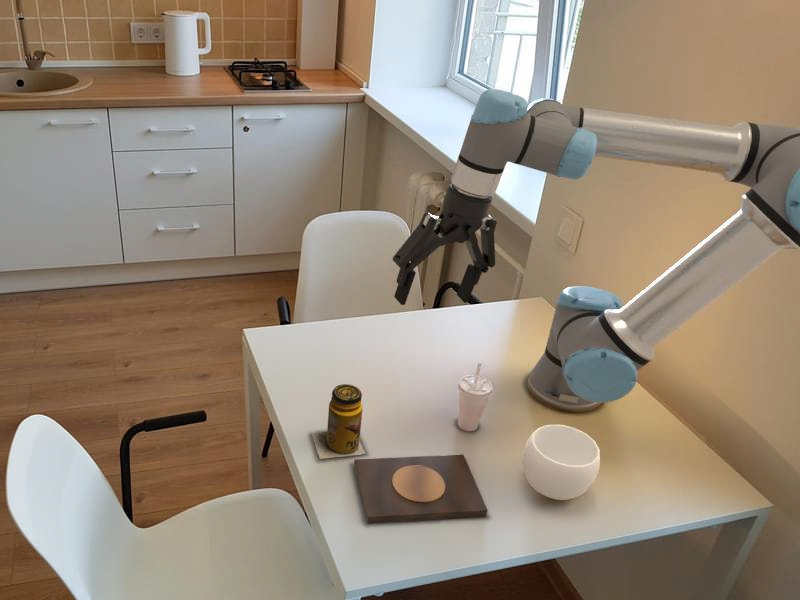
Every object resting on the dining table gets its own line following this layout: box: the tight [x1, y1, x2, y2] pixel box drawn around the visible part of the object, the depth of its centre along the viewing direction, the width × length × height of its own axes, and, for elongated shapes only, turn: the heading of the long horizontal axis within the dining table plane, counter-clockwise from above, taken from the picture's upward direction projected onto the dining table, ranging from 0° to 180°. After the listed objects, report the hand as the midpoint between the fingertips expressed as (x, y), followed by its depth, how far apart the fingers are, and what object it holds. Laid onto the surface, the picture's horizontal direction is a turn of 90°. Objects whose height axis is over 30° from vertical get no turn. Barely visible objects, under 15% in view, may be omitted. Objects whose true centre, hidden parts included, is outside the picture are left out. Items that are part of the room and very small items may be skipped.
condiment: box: [311, 383, 366, 460], centre depth 130 cm, size 7×8×12 cm
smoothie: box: [457, 362, 494, 432], centre depth 136 cm, size 6×6×14 cm
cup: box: [522, 424, 601, 501], centre depth 124 cm, size 12×12×10 cm
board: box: [353, 454, 488, 524], centre depth 124 cm, size 20×14×2 cm
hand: (431, 299), depth 130 cm, fingers open, 13 cm apart
